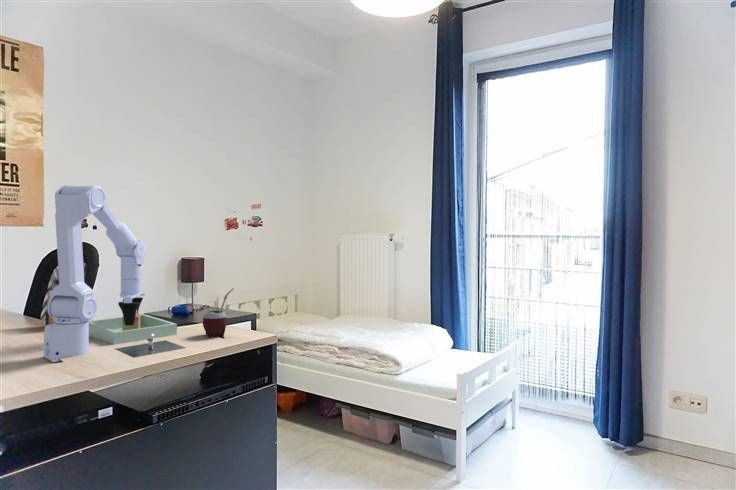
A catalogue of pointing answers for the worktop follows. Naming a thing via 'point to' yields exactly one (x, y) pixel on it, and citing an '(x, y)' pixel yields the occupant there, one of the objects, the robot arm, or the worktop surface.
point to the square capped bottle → (135, 325)
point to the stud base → (149, 347)
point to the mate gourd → (215, 321)
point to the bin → (147, 325)
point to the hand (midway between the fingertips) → (130, 323)
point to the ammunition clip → (48, 318)
